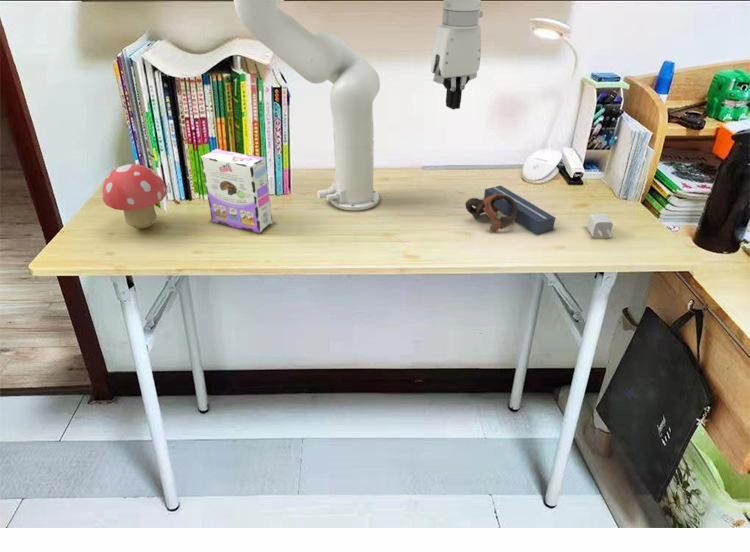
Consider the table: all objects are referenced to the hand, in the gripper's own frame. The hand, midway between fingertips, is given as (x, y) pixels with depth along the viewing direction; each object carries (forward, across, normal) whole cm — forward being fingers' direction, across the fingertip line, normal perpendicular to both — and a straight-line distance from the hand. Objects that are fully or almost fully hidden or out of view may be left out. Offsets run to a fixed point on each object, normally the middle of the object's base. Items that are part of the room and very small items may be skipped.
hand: (452, 107), depth 125 cm
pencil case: (+25, -14, +11) cm, 31 cm away
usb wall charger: (+25, -24, +28) cm, 45 cm away
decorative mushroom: (+25, +68, -23) cm, 76 cm away
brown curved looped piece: (+25, -5, +11) cm, 28 cm away
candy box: (+25, +47, -15) cm, 55 cm away
